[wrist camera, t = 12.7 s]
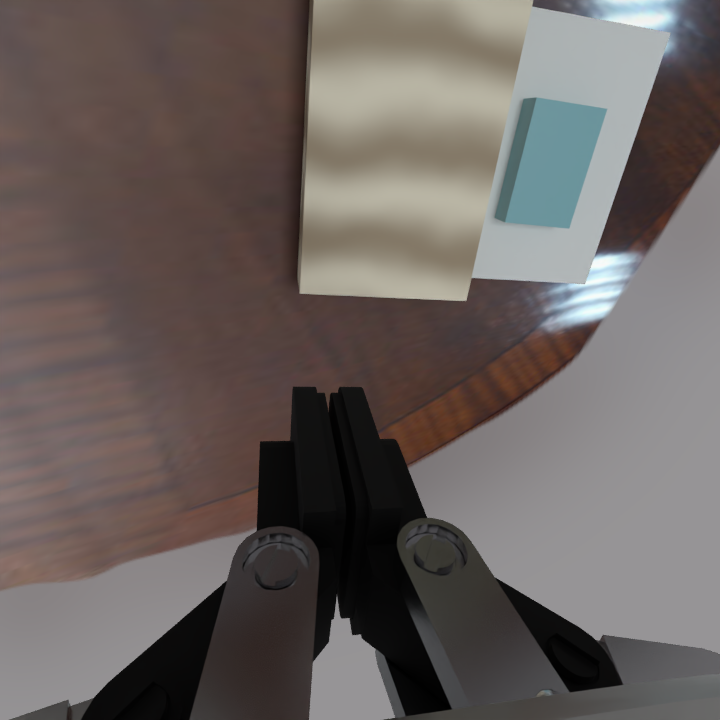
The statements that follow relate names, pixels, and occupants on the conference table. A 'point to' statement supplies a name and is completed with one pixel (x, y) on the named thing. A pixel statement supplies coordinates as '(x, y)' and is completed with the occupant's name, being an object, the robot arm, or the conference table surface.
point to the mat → (624, 112)
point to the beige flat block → (402, 141)
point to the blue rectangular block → (548, 162)
